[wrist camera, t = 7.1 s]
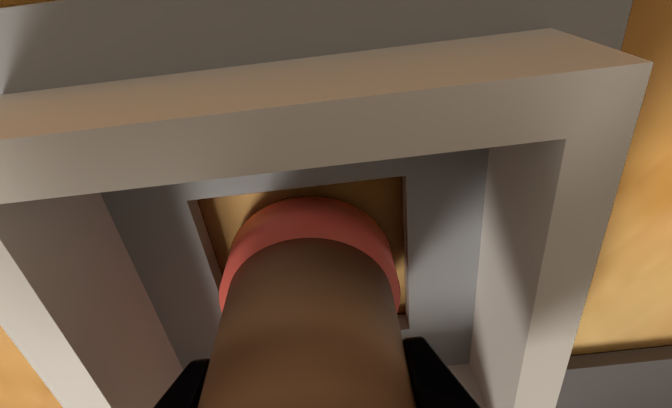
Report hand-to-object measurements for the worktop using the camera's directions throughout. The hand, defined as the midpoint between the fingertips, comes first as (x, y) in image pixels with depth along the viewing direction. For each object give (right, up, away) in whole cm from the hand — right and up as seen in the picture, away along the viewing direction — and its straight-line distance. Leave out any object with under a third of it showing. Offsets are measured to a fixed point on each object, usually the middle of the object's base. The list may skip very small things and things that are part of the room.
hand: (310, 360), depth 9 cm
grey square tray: (0, +2, +3) cm, 3 cm away
